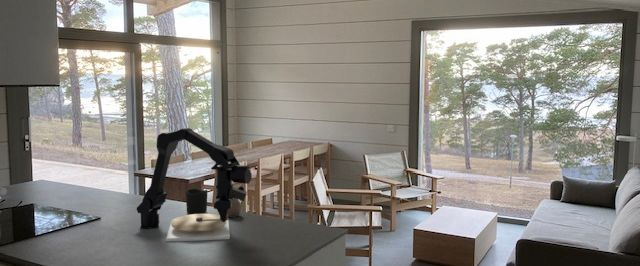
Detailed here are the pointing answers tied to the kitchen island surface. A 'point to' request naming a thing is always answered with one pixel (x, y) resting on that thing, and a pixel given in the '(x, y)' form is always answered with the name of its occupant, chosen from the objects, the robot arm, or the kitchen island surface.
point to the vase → (234, 208)
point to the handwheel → (198, 222)
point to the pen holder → (196, 201)
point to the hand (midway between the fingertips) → (224, 221)
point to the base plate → (198, 234)
